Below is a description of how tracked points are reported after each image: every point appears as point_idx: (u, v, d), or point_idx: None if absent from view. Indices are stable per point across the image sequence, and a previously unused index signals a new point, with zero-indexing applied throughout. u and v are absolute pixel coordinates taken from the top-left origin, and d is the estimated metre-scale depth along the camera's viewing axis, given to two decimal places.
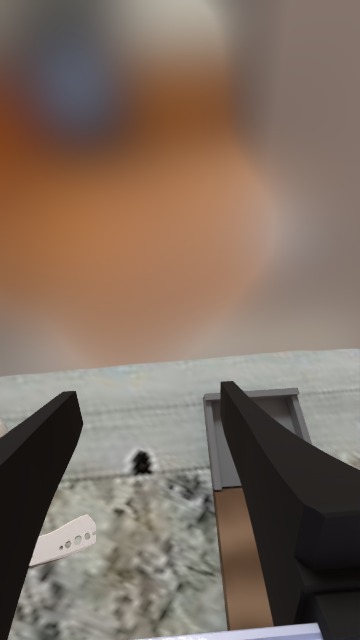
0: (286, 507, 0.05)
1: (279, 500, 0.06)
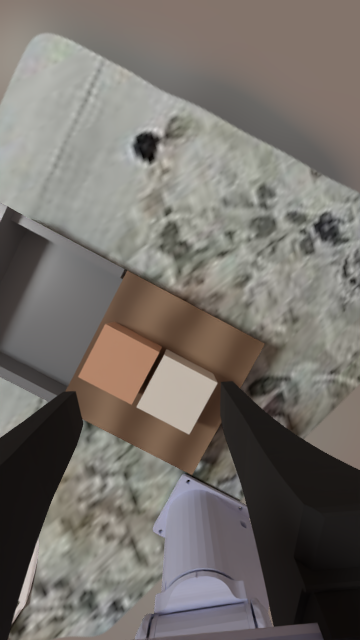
0: (286, 507, 0.05)
1: (279, 500, 0.06)
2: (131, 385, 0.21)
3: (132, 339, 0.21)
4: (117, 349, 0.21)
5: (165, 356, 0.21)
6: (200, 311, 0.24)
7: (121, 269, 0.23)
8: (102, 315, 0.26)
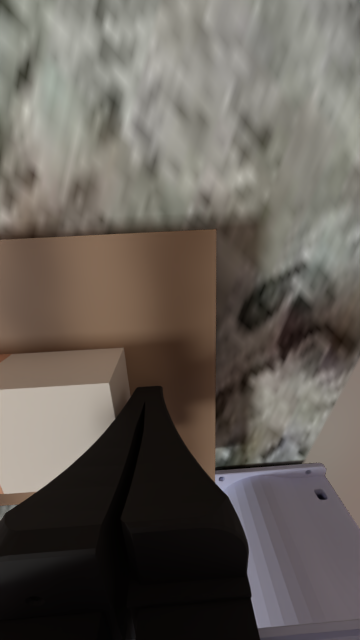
0: None
1: None
2: None
3: None
4: None
5: None
6: (41, 242, 0.10)
7: None
8: None
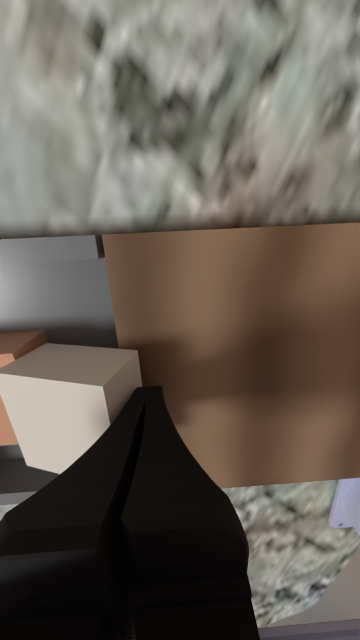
0: None
1: None
2: None
3: None
4: None
5: None
6: (299, 229, 0.10)
7: (89, 239, 0.10)
8: (113, 336, 0.14)
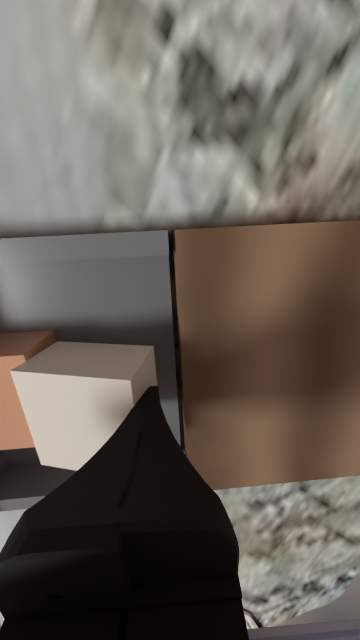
0: None
1: None
2: None
3: None
4: None
5: (13, 372, 0.10)
6: None
7: (161, 234, 0.10)
8: (164, 334, 0.14)
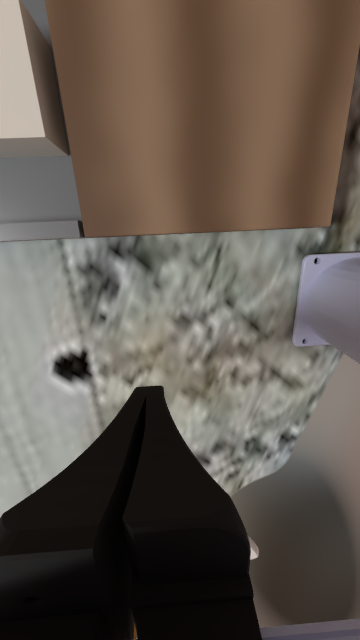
0: None
1: None
2: None
3: None
4: None
5: None
6: None
7: None
8: (53, 53, 0.14)
